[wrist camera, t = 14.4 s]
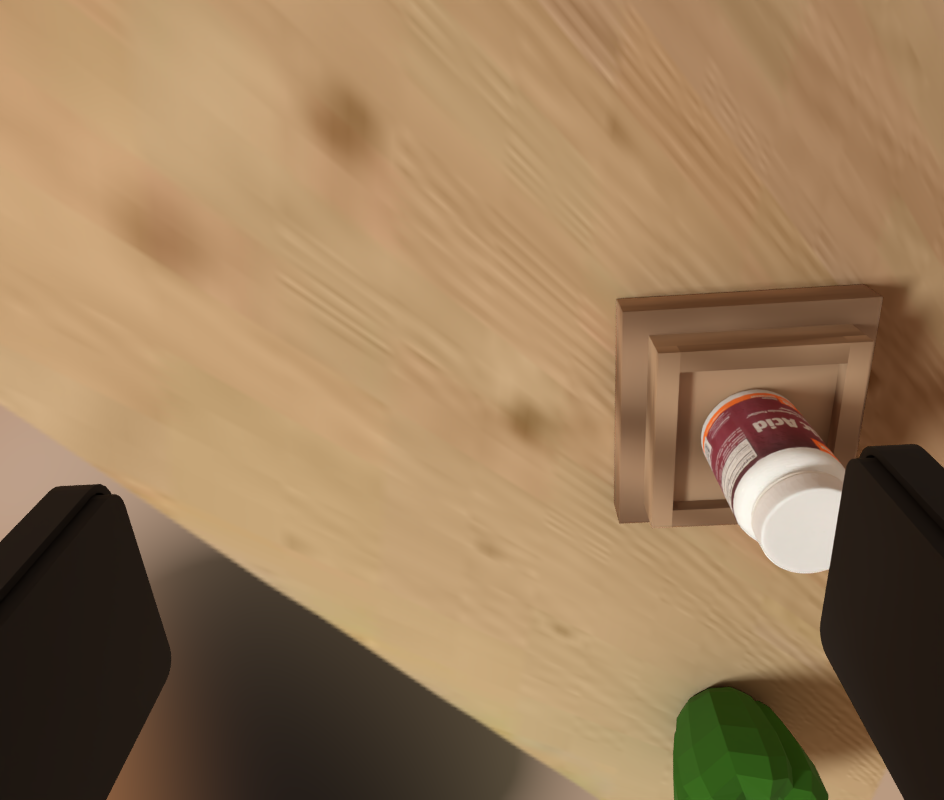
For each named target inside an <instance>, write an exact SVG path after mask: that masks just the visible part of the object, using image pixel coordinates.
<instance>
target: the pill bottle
mask: <svg viewBox="0 0 944 800" xmlns="http://www.w3.org/2000/svg"><path fill="white" fill-rule="evenodd" d="M701 444H702V449H703V452H704V455H705V457H706V459H707V461H708V463H709V465H710V467H711V469H712V471H713V473H714V475H715V478H716V480H717V482H718V483H719V485H720V487H721V489H722V492H723V494H724V496H725V498H726V500H727V502H728V504H729V506H730V508H731V510H732V512H733V514H734V517H735V519H736V521H737V523H738V524H739V526H740V527H741V528H742V530H744V531H745V532H746V533H747V534H748V535H749V536H750V537H752V538H753V539H755V540H756V541H758V542H759V544H760V546H761V548H762V549H763V551H764V553H765V555H766V556H767V557H768V558H769V559H770V560H771V561H772V562H773V563H774V564H775V565H777V566H779V567H780V568H782V569H785V570H788V571H791V572H796V573H816V572H821V571H824V570H828V569H829V567H830V561H831V555H832V549H833V543H834V537H835V530H836V524H837V518H838V512H839V506H840V500H841V494H842V487H843V481H844V475H845V468H844V467H843V466H842V464H841V463H840V462H839V460H838V459H837V458H836V457H835V456H834V454H833V453H832V452H831V450H830V449H829V448H828V447H827V446H826V444H825V443H824V442H823V441H822V439H821V438H820V437H819V435H818V434H817V433H816V432H815V431H814V430H813V428H812V427H811V426H810V425H809V423H808V422H807V421H806V420H805V418H804V417H803V416H802V415H801V414H800V412H799V411H798V410H797V409H796V408H795V406H794V405H793V404H792V403H791V402H790V401H789V400H788V399H786V398H785V397H783V396H781V395H779V394H777V393H774V392H771V391H768V390H760V389H755V390H747V391H742V392H739V393H736V394H734V395H731V396H729V397H728V398H726V399H725V400H723V401H722V402H720V403H719V404H718V405H717V406H716V407H715V408H714V409H713V410H712V412H711V413H710V414H709V416H708V417H707V419H706V421H705V423H704V425H703V428H702V433H701Z"/></svg>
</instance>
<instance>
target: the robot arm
mask: <svg viewBox="0 0 944 800" xmlns="http://www.w3.org/2000/svg"><path fill="white" fill-rule="evenodd" d="M820 635H821V641H822V645H823V649H824V651H825V654H826V656H827V658H828V660H829V661H830V663H831V665H832V667H833V669H834V671H835V673H836V674H837V676H838V678H839V680H840V682H841V684H842V685H843V687H844V689H845V691H846V693H847V695H848V697H849V698H850V700H851V702H852V704H853V706H854V708H855V709H856V711H857V713H858V715H859V717H860V719H861V721H862V722H863V724H864V726H865V728H866V730H867V732H868V733H869V735H870V737H871V739H872V741H873V743H874V745H875V746H876V748H877V750H878V752H879V754H880V756H881V757H882V759H883V761H884V763H885V765H886V767H887V769H888V770H889V772H890V774H891V776H892V778H893V780H894V781H895V783H896V785H897V787H898V789H899V791H900V793H901V794H902V796H903V798H904V800H944V468H943V467H942V466H941V465H940V464H939V463H938V462H937V461H936V460H935V459H934V458H933V457H932V456H931V455H930V454H928V453H927V452H926V451H925V450H924V449H923V448H922V447H920V446H919V445H915V444H907V445H887V446H868V447H866V448H865V449H864V450H863V451H862V453H861V455H860V458H855V459H851V460H850V461H849V462H848V464H847V466H846V470H845V475H844V481H843V487H842V494H841V500H840V506H839V512H838V518H837V524H836V530H835V537H834V543H833V549H832V555H831V561H830V567H829V573H828V580H827V586H826V592H825V598H824V604H823V610H822V616H821V623H820ZM170 667H171V651H170V647H169V644H168V640H167V637H166V634H165V631H164V628H163V624H162V621H161V618H160V615H159V612H158V609H157V605H156V602H155V599H154V596H153V593H152V590H151V586H150V583H149V580H148V577H147V574H146V570H145V567H144V564H143V561H142V558H141V554H140V551H139V548H138V545H137V542H136V539H135V535H134V532H133V529H132V526H131V523H130V520H129V516H128V514H127V510H126V507H125V504H124V502H123V500H122V499H121V497H120V496H118V495H115V494H112V495H111V492H110V491H109V490H108V489H107V487H106V486H103V485H101V484H96V485H74V486H59V487H55V488H53V489H52V490H51V491H49V492H48V493H47V494H46V495H45V496H44V497H43V498H42V500H40V501H39V503H38V504H37V505H36V506H35V507H34V508H33V509H32V510H31V511H30V512H29V513H28V514H27V515H26V516H25V517H24V518H23V519H22V520H21V521H20V522H19V523H18V524H17V525H16V526H15V527H14V528H13V529H12V530H11V531H10V533H8V535H6V537H5V538H4V539H3V540H2V541H1V542H0V800H106V799H107V797H108V795H109V793H110V791H111V789H112V787H113V785H114V783H115V781H116V779H117V777H118V775H119V773H120V771H121V769H122V767H123V765H124V763H125V761H126V759H127V757H128V755H129V753H130V751H131V749H132V747H133V745H134V743H135V741H136V739H137V737H138V735H139V734H140V732H141V729H142V727H143V725H144V724H145V722H146V720H147V717H148V716H149V713H150V712H151V709H152V708H153V706H154V704H155V702H156V700H157V698H158V696H159V694H160V692H161V690H162V688H163V686H164V684H165V682H166V680H167V677H168V675H169V671H170Z"/></svg>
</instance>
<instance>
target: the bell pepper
mask: <svg viewBox="0 0 944 800" xmlns="http://www.w3.org/2000/svg"><path fill="white" fill-rule="evenodd" d="M673 780H674V800H828V793H827V791H826V789H825V787H824V785H823V783H822V780H821V778H820V776H819V774H818V772H817V770H816V768H815V766H814V764H813V763H812V761H811V760H810V759H809V757H808V756H807V754H806V753H805V752H804V750H803V749H802V747H801V746H800V745H799V743H798V742H797V741H796V739H795V738H794V737H793V735H792V734H791V733H790V731H789V730H788V729H787V728H786V726H785V725H784V724H783V722H782V721H781V720H780V719H779V718H778V716H777V715H776V714H775V713H774V712H773V711H772V710H771V708H770V707H768V706H767V705H765V704H763V703H761V702H760V701H754V700H753V699H752V697H751V696H749V695H747V694H745V693H744V692H741V691H739V690H737V689H734V688H732V687H721V688H708V689H706V690H704V691H703V692H701V693H699V694H697V695H695V696H693V697H691V698H690V699H689V700H688V702H687V703H686V705H685V706H684V707H683V709H682V710H681V712H680V714H679V716H678V717H677V725H676V732H675V735H674V750H673Z"/></svg>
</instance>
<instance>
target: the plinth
mask: <svg viewBox="0 0 944 800" xmlns="http://www.w3.org/2000/svg"><path fill="white" fill-rule="evenodd" d="M882 301H883V296H881V295H880V294H878V293H876V292H875V291H873V290H872V289H870V288H869V287H867V286H866V285H864V284H860V285H843V286H827V287H810V288H793V289H776V290H759V291H743V292H726V293H709V294H692V295H676V296H659V297H642V298H625V299H617V302H616V385H615V467H614V505H615V508H616V512H617V516H618V520H619V524H620V523H642V522H650V524H651V527H652V528H665V527H687V526H710V525H732V524H738V523H737V521H736V519H735V517H734V514H733V512H732V510H731V508H730V506H729V504H728V502H727V500H726V498H725V496H724V494H723V492H722V489H721V487H720V485H719V483H718V482H717V480H716V478H715V475H714V473H713V471H712V469H711V467H710V465H709V463H708V461H707V459H706V457H705V455H704V452H703V449H702V444H701V433H702V428H703V425H704V423H705V421H706V419H707V417H708V416H709V414H710V413H711V412H712V410H713V409H714V408H715V407H716V406H717V405H718V404H719V403H720V402H722V401H723V400H725V399H726V398H728V397H729V396H731V395H734V394H736V393H739V392H742V391H747V390H755V389H760V390H768V391H771V392H774V393H777V394H779V395H781V396H783V397H785V398H786V399H788V400H789V401H790V402H791V403H792V404H793V405H794V406H795V408H796V409H797V410H798V411H799V412H800V414H801V415H802V416H803V417H804V418H805V420H806V421H807V422H808V423H809V425H810V426H811V427H812V428H813V430H814V431H815V432H816V433H817V434H818V435H819V437H820V438H821V439H822V441H823V442H824V443H825V444H826V446H827V447H828V448H829V449H830V450H831V452H832V453H833V454H834V456H835V457H836V458H837V459H838V460H839V462H840V463H841V464H842V466H843V467H844V468H845V470H846V466H847V464H848V462H849V461H850V460H851V459H855V458H856V455H857V449H858V443H859V437H860V431H861V425H862V420H863V414H864V408H865V402H866V396H867V390H868V384H869V378H870V372H871V366H872V360H873V354H874V348H875V342H876V336H877V330H878V325H879V319H880V313H881V307H882Z"/></svg>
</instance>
